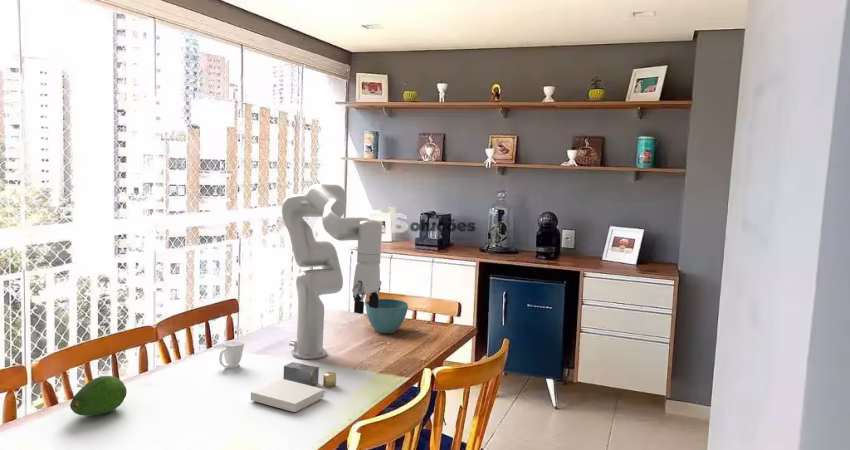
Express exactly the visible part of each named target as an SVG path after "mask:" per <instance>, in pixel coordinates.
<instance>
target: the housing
mask: <svg viewBox="0 0 850 450" xmlns="http://www.w3.org/2000/svg"><path fill="white" fill-rule="evenodd" d="M319 370H320V367H319V366H314V365H311V364H310V365H309V364H304V363H299V362H295V361H292V362H289V363H288V364H285V365H283V377H282V379H285V380H289V381H293V382H297V383H301V384H305V385H309V386H313V387H316V386H317V385H318V384H319V374H320V372H319Z"/></svg>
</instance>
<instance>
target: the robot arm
mask: <svg viewBox="0 0 850 450" xmlns="http://www.w3.org/2000/svg"><path fill="white" fill-rule="evenodd" d="M346 201H347V194H346V192H345V190H344V188H343V187H342V186H340V185H339V184H327V183H326V184H323V183H321V184H320V183H319V184H313V185H311V186H310V187H308V189H307V190H306V193H302V194H301V193H300V194H299V193H295V194H291V195H289V196H287V197H285V198H284V200H283V202H282V204H281V215H282V220H283V223H284V225H285V227H286V229H287V231H288V234H289V238H290V243H291V247H292V252H293V255H294V256H293V257H294V261H295V263H296V265H297V266H299V267H300V268H314V269H306V270H304V271H303V270H302V271H301V272H300V273H299V274H298V275H297V276H296V279H295V280H296V281H295V284H296V285H295V286H296V291H297V325H296V326H297V328H296V329H297V330H296V331H297V332H296V339H293V338H292V339H290V341H289V343H288V345H289V346H290V347H293V350H292V353H291V355H292V356H293V357H295V358H297V359H302V360H305V359H306V360H316V359H322V358H324V357H326V355H327V353H328V351H327V349H325V348H324V347H323V346H324V329H325V328H324V326H325V325H324V323H325V306H324V303H323V301H322V299H321V298H320V296H323V295H331V294H337V293H339V292H341V290H342V289H343V285H344V279H343V274H342V273H343V272H342V268H341V265H340V260H339V257H338V252H337V250H336V247H335V246H334V244H332V243H331V242H330V241H325V240H324V241H323V240H322V241H321V240H320V241H316V239H315V237H314V232H313V231H314V230H313V228H312V227H311V226H310V224H309V223H308V222H307V221H306V220H305V219H303V218H306V217H307V218H319V217H320V218H321V217H322V218H321V220H322V222H321V223H322V226H323V229H324V231H325V232H326V233H327V234H328V235H330V236H331V237H332V238H333V239H334V240H337V241H343V242H344V241H345V242H346V241H357V251H356V252H357V253H356V256H357V257H356V266H355V269H354V275H353V284H352V285H353V286H352V290H351V291H352V297H353V301H354V306H353V313H355V314H360V315H363V314H364V310H365V309H364V307H365V301H364V299H365V296H366V295H368V297H369V299H368V301H369V307H371V308H378V299H380V298H379V296H380V291H381V287H382V286H381V285H382V281H381V267H380V264H381V257H382V256H381V254H382V253H381V252H382V233H383V225H382V222H381V221H379V220H373V219H369V218H367V217H343V216H344V214H345V212H346V204H345V203H346ZM319 267H321V268H319ZM315 268H316V269H315Z"/></svg>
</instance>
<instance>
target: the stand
mask: <svg viewBox="0 0 850 450" xmlns="http://www.w3.org/2000/svg"><path fill="white" fill-rule="evenodd" d="M323 398H325V388H320V387H317V386H309V385H305V384H301V383H297V382H293V381H289V380H285V379H283V378H280V379H278V380H275V381H274V382H271V383H269V384H267V385H265V386H264V385H263V386H261V387H259V388H258V389H255V390H253V391H250V401H252V402H255V403H259V404H263V405H267V406H271V407H274V408H279V409H282V410H286V411H288V412H292V413H298V412H299V411H301V410H303V409H306V408H307V407H310V406H311V405H313V404H314V403H317V402H319V401H320V400H321V399H323Z"/></svg>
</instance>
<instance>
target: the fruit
mask: <svg viewBox="0 0 850 450" xmlns="http://www.w3.org/2000/svg"><path fill="white" fill-rule="evenodd" d="M126 397H127V387H126V385H125V383H124V382H123V381H122V380H121V379H119V378H118V377H116V376H113V375H101V376H98V377H96V378H93V379H92V380H90V381H88V382H87V383H86V384H85V385H83V386H82V388H80V389H79V390H78V391H77V392H76V394H75V395H73V397H72V400H71V402H70V404H69V407H70V409H71V411H73V413H75V414H76V415H79V416H101V415H106V414H108V413H111V412H113V411H114V410H115V409H117V408H119V407H120V406H121V404H123V402H124V401H125V398H126Z"/></svg>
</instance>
